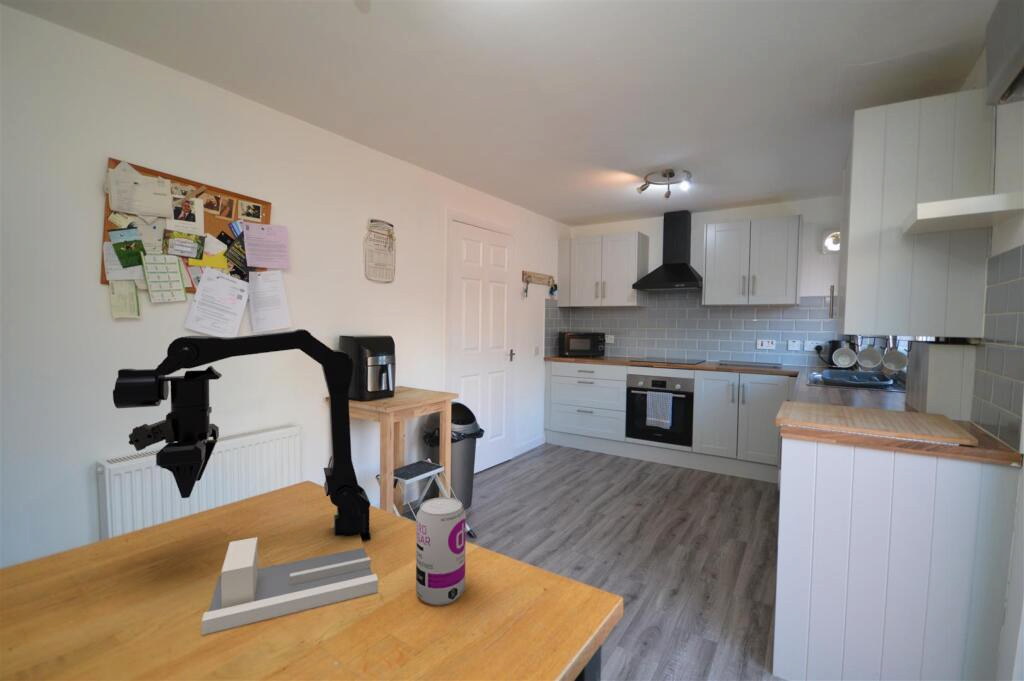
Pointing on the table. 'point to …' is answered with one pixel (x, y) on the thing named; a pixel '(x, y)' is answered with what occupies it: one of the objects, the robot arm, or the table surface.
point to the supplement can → (440, 550)
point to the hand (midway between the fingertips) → (191, 488)
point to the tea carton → (239, 573)
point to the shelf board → (296, 589)
